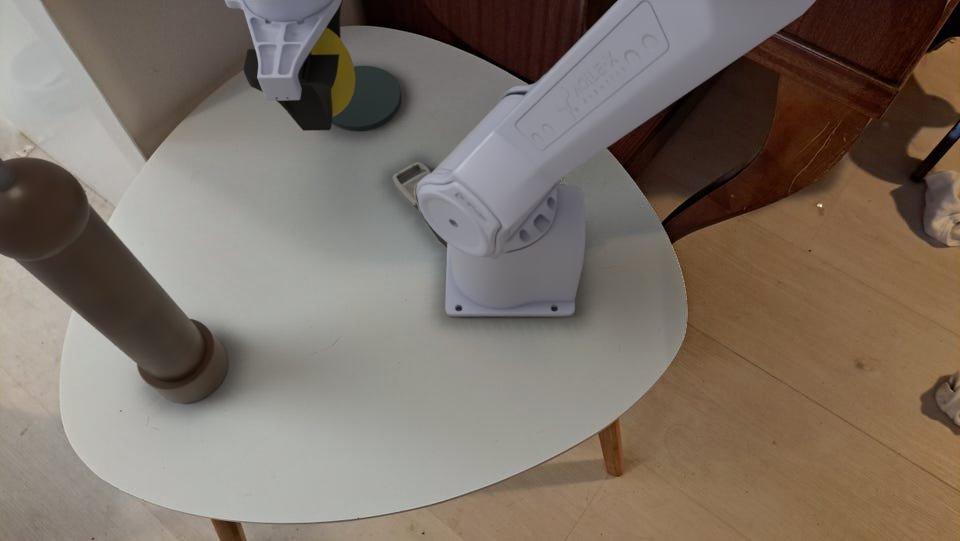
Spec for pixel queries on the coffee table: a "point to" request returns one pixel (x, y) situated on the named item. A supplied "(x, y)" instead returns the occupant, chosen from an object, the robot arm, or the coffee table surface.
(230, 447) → the coffee table surface
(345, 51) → the lemon
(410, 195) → the strap clip
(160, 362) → the pepper mill
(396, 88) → the coaster
